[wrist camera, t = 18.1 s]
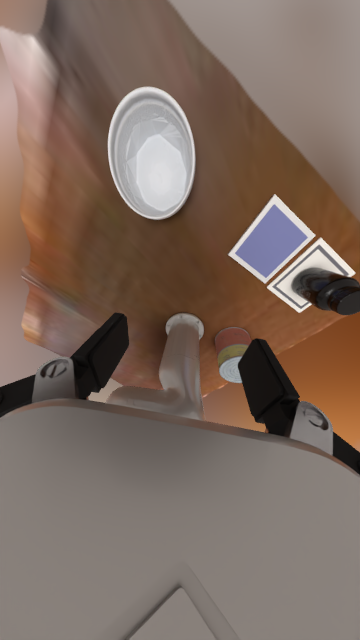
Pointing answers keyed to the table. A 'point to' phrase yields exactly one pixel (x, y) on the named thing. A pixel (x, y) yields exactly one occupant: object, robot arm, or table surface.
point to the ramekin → (151, 153)
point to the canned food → (231, 351)
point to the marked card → (311, 258)
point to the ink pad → (271, 240)
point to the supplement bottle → (328, 290)
